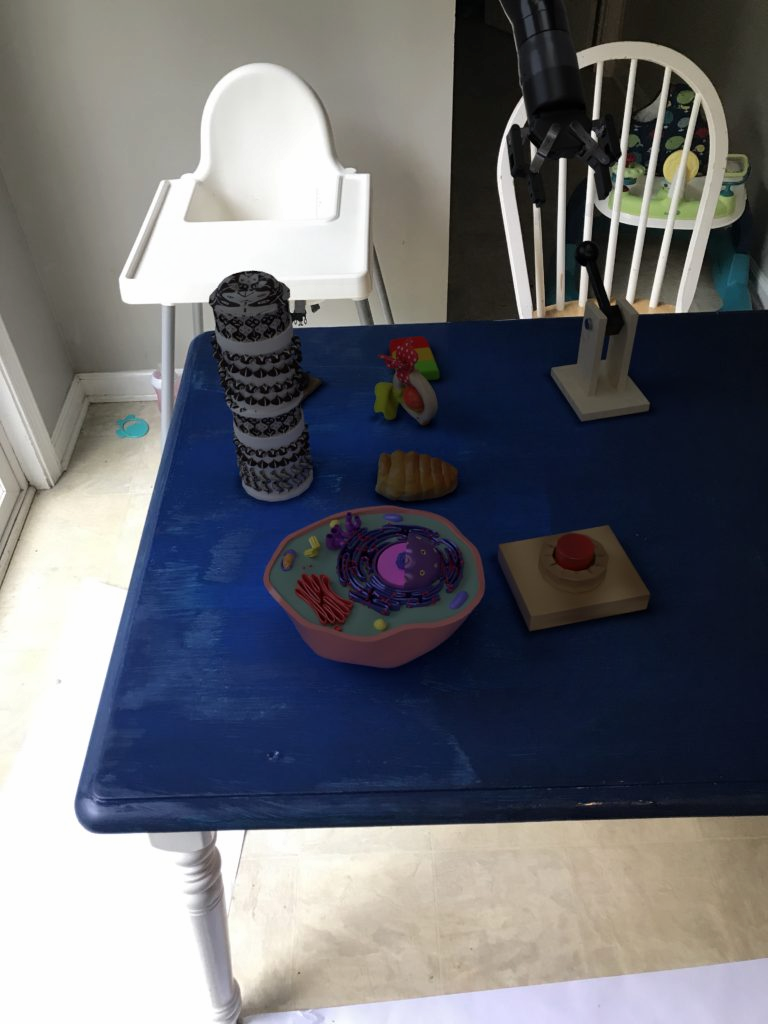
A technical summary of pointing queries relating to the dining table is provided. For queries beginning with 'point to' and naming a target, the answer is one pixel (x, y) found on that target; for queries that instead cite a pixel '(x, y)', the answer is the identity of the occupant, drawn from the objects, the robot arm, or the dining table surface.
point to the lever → (599, 285)
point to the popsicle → (425, 355)
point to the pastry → (414, 476)
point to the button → (574, 552)
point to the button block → (571, 581)
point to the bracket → (602, 368)
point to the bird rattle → (406, 387)
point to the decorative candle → (262, 384)
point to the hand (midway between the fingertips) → (573, 201)
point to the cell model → (376, 584)
